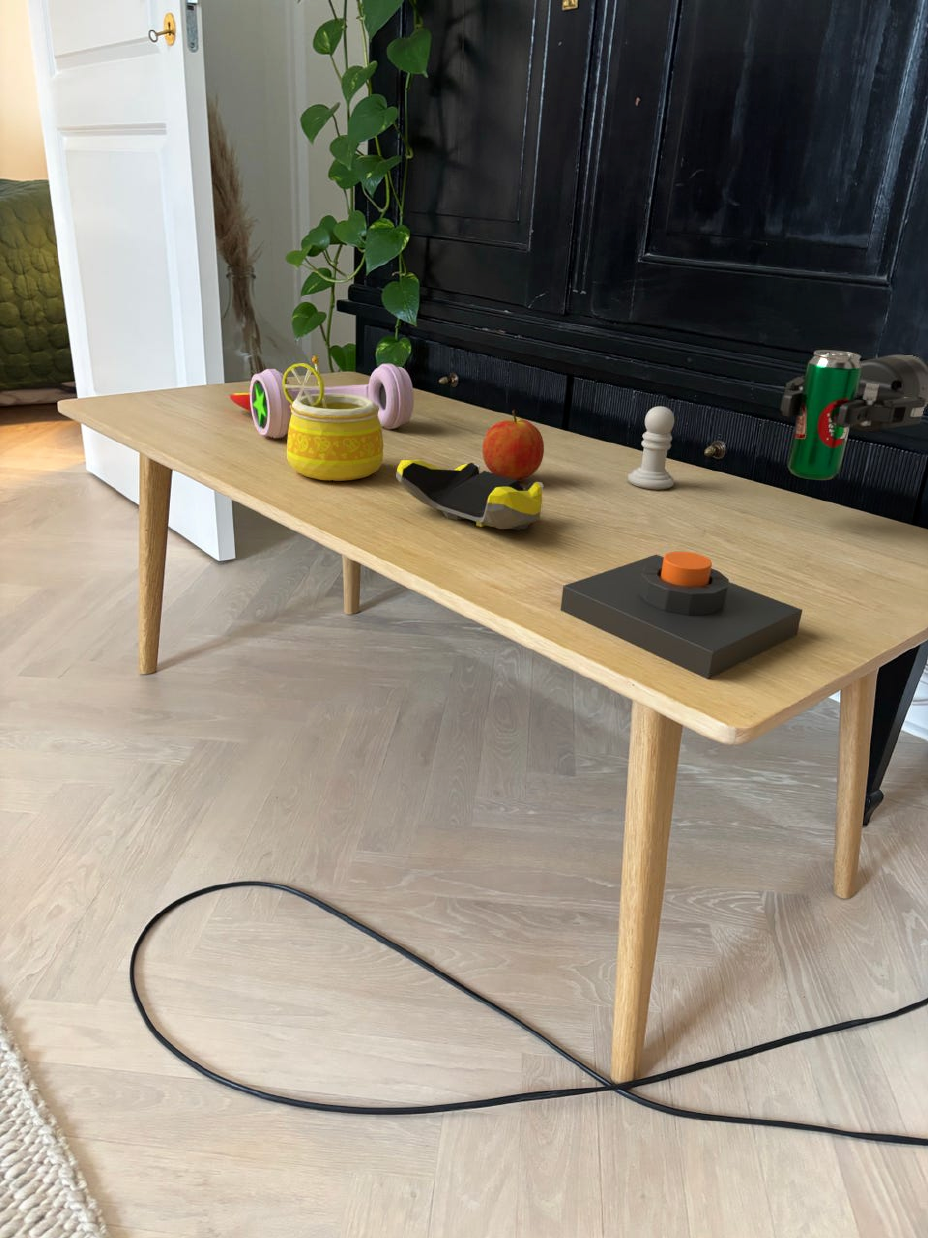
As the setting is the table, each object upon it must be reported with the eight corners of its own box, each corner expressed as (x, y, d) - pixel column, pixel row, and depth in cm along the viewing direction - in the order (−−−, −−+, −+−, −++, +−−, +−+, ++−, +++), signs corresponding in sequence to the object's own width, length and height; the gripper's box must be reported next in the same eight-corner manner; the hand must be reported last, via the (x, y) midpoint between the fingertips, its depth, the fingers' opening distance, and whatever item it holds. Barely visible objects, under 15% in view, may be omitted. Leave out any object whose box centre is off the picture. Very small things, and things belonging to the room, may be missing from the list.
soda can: (788, 464, 96) (811, 347, 91) (839, 471, 94) (865, 352, 89) (784, 476, 92) (808, 354, 86) (837, 484, 90) (864, 359, 85)
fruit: (529, 470, 108) (535, 403, 105) (549, 487, 102) (556, 416, 99) (473, 471, 107) (477, 403, 103) (491, 489, 101) (495, 417, 97)
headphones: (271, 382, 108) (220, 334, 122) (270, 459, 113) (222, 405, 127) (418, 374, 117) (355, 331, 132) (411, 446, 123) (352, 397, 137)
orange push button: (717, 583, 70) (721, 561, 69) (689, 594, 68) (693, 572, 67) (679, 568, 72) (682, 547, 72) (651, 578, 70) (654, 557, 69)
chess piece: (672, 493, 103) (685, 413, 99) (625, 487, 104) (636, 408, 100) (674, 480, 108) (686, 404, 104) (629, 474, 109) (639, 399, 105)
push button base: (797, 635, 71) (808, 588, 69) (707, 680, 63) (717, 628, 62) (652, 577, 80) (659, 534, 78) (560, 610, 72) (565, 564, 71)
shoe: (501, 552, 83) (564, 528, 90) (505, 495, 81) (570, 474, 88) (386, 511, 92) (451, 492, 99) (386, 458, 90) (453, 442, 97)
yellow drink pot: (400, 479, 102) (403, 370, 97) (308, 490, 97) (306, 375, 92) (353, 451, 112) (353, 351, 107) (267, 459, 107) (263, 354, 102)
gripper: (829, 346, 102) (753, 359, 91) (963, 366, 93) (897, 383, 82) (815, 413, 105) (740, 434, 94) (943, 439, 96) (877, 465, 85)
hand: (814, 410), depth 88 cm, fingers closed on soda can, 5 cm apart
